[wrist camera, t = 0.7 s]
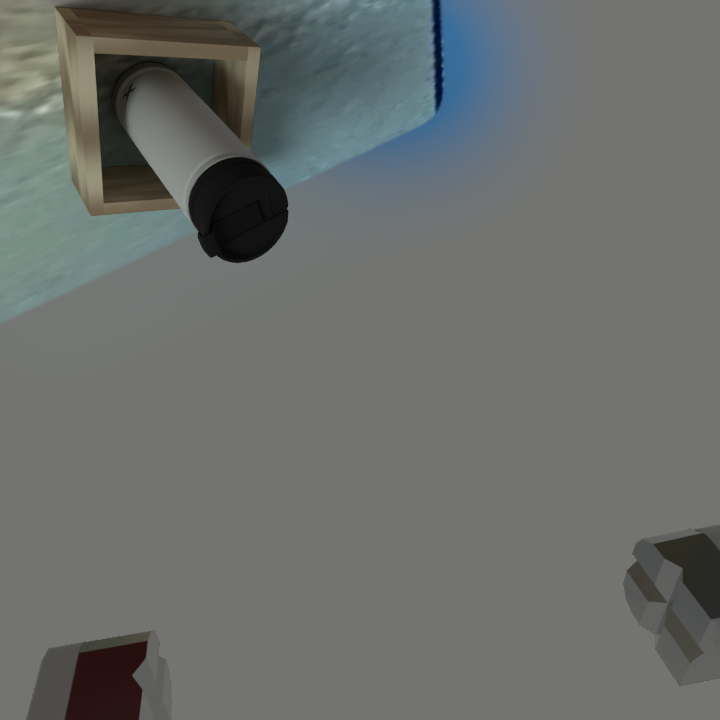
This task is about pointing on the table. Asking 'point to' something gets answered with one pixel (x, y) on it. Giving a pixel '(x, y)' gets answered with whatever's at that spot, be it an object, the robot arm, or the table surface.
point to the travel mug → (201, 164)
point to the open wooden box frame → (145, 38)
